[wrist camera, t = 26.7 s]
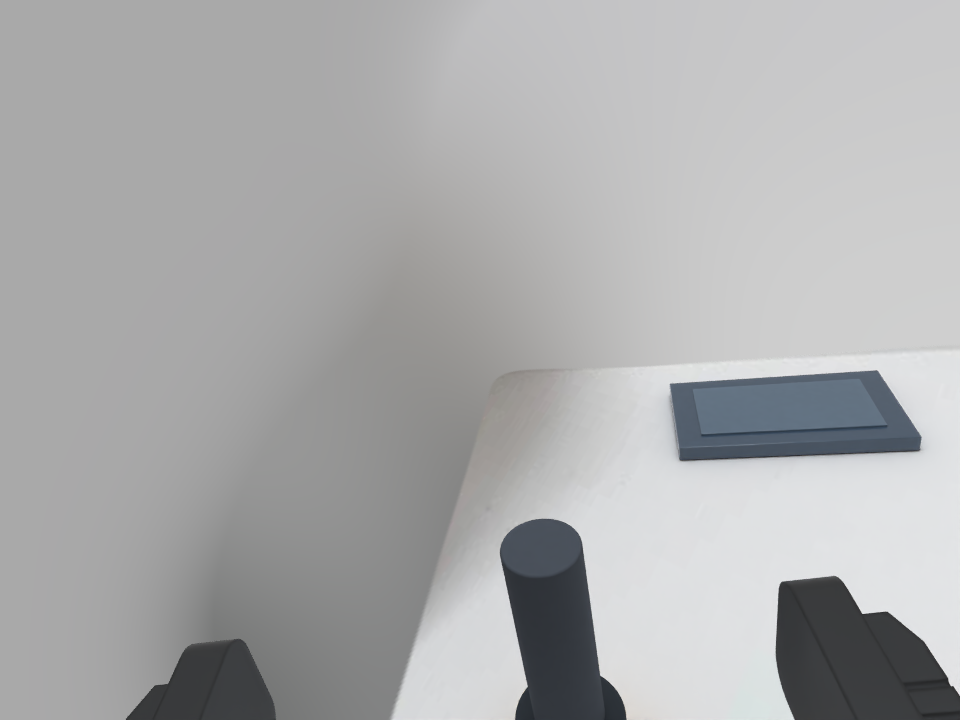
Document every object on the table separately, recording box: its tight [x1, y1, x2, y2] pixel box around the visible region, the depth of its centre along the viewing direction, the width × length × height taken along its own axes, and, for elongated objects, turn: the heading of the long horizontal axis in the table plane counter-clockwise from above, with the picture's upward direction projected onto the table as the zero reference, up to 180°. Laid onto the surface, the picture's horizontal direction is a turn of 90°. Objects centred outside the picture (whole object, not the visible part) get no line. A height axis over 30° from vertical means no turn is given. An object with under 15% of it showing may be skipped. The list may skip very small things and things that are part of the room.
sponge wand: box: [500, 519, 626, 720], centre depth 27 cm, size 4×4×12 cm
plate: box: [670, 370, 921, 460], centre depth 47 cm, size 14×8×1 cm, turn 81°
